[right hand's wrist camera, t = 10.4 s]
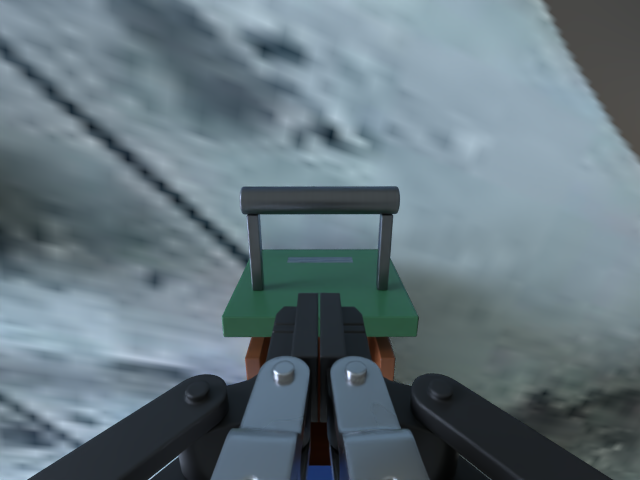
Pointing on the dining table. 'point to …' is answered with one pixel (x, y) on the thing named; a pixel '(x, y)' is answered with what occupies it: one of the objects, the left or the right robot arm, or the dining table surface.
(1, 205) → the dining table surface
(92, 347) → the dining table surface
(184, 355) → the dining table surface
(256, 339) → the drawer
